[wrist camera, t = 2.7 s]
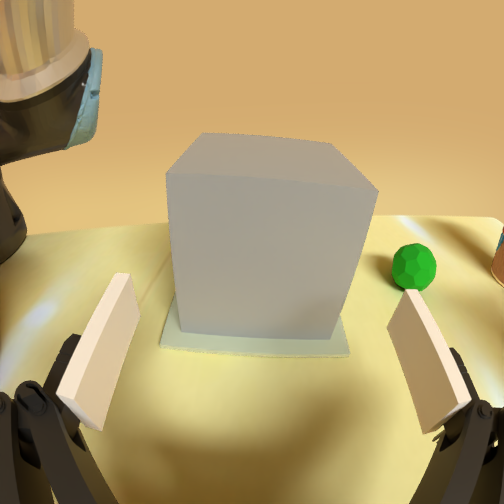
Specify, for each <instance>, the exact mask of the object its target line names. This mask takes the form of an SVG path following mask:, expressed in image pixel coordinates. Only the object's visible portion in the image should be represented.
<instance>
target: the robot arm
mask: <svg viewBox="0 0 504 504" xmlns="http://www.w3.org/2000/svg"><path fill="white" fill-rule="evenodd" d="M102 58H103V54H102V50H100V49H95V48H90V49H89V41H88V38H87V36H86V35H85V33H83V32H81V31H80V30H78V29H75V28H74V0H0V166H2V165H5V164H8V163H11V162H15V161H18V160H22V159H25V158H29V157H33V156H37V155H41V154H45V153H50V152H54V151H59V150H67V149H68V148H69V147H72V146H75V145H79V144H83V143H86V142H88V141H90V140H91V139H92V138H93V136H94V134H95V132H96V127H97V119H98V108H99V92H100V84H101V72H102V60H103V59H102ZM26 233H27V227H26V224H25V220H24V217H23V214H22V212H21V211H20V209H19V207H18V206H17V204H16V203H15V201H14V199H13V198H12V196H11V194H10V193H9V191H8V189H7V188H6V186H5V184H4V181H3V178H2V173H1V167H0V264H1V263H2V262H3V261H5V260H6V259H7V258H8V257H10V256H11V255H12V254H13V253H14V252H15V251H16V250H17V249H18V247H19V246H20V245H21V243H22V242H23V240H24V239H25V237H26ZM140 317H141V315H140V312H139V308H138V304H137V300H136V296H135V292H134V287H133V283H132V278H131V274H126V273H115V275H114V277H113V279H112V280H111V282H110V284H109V286H108V287H107V289H106V291H105V293H104V295H103V296H102V298H101V300H100V302H99V304H98V306H97V307H96V309H95V311H94V313H93V315H92V317H91V319H90V321H89V323H88V325H87V327H86V329H85V331H84V333H83V335H82V336H81V335H77V334H72V335H71V336H70V337H69V338H68V339H67V340H66V341H65V342H64V344H63V346H62V348H61V350H60V353H59V354H58V356H57V358H56V361H55V362H54V364H53V366H52V368H51V370H50V372H49V375H48V377H47V379H46V381H45V383H44V386H43V388H42V387H41V386H40V385H39V384H38V383H37V382H35V381H31V380H29V381H25V382H23V383H21V384H20V385H19V386H18V388H17V389H16V392H15V395H14V399H11V398H10V397H9V396H8V395H7V394H5V393H4V392H0V504H54V500H53V496H52V492H51V488H52V490H53V492H54V495H55V497H56V499H57V501H58V503H59V504H119V503H118V502H117V500H116V499H115V497H114V495H113V494H112V492H111V490H110V489H109V487H108V485H107V483H106V482H105V480H104V478H103V476H102V474H101V472H100V471H99V469H98V467H97V465H96V463H95V461H94V459H93V457H92V455H91V453H90V451H89V448H88V446H87V444H86V442H85V440H84V437H83V435H82V433H81V431H80V429H79V428H78V427H79V424H80V421H81V422H82V423H83V424H84V425H85V426H86V427H89V428H92V429H95V430H99V431H102V430H103V426H104V423H105V419H106V416H107V412H108V409H109V406H110V403H111V399H112V396H113V393H114V390H115V387H116V384H117V381H118V378H119V375H120V372H121V369H122V366H123V363H124V360H125V357H126V354H127V351H128V349H129V346H130V343H131V340H132V338H133V335H134V332H135V330H136V327H137V324H138V322H139V319H140ZM387 330H388V332H389V335H390V337H391V340H392V343H393V345H394V348H395V350H396V353H397V356H398V359H399V361H400V364H401V367H402V370H403V373H404V375H405V378H406V381H407V384H408V387H409V390H410V393H411V396H412V399H413V403H414V406H415V409H416V412H417V416H418V419H419V422H420V426H421V429H422V433H423V434H427V433H430V432H434V431H436V430H438V429H439V428H440V427H441V426H442V425H444V428H445V429H444V430H443V431H442V432H441V433H439V434H438V435H437V436H435V437H434V439H433V440H432V441H433V442H434V441H435V440H437V439H438V438H439V437H440V438H439V441H437V442H436V443H437V446H436V448H435V451H434V453H433V456H432V458H431V460H430V463H429V465H428V467H427V469H426V471H425V474H424V476H423V478H422V480H421V482H420V484H419V486H418V488H417V490H416V492H415V494H414V496H413V497H412V499H411V501H410V503H409V504H504V407H503V408H493V407H492V406H491V405H490V403H488V402H487V401H485V400H480V399H479V397H478V394H477V392H476V390H475V387H474V385H473V383H472V380H471V378H470V376H469V374H468V373H467V369H466V367H465V366H464V363H463V361H462V359H461V357H460V355H459V354H458V353H457V351H456V350H455V349H454V348H449V347H448V345H447V343H446V341H445V339H444V337H443V335H442V333H441V331H440V330H439V328H438V326H437V324H436V322H435V320H434V318H433V316H432V315H431V313H430V311H429V309H428V307H427V305H426V304H425V302H424V300H423V298H422V297H421V295H420V293H419V291H418V290H417V289H405V291H404V293H403V295H402V298H401V300H400V302H399V304H398V306H397V308H396V310H395V312H394V314H393V316H392V318H391V320H390V322H389V324H388V326H387ZM497 440H498V445H497V446H496V447H494V442H495V441H497ZM50 486H51V487H50Z"/></svg>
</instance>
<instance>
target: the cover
mask: <svg viewBox="0 0 504 504" xmlns="http://www.w3.org/2000/svg"><path fill="white" fill-rule="evenodd" d="M166 188H167V204H168V219H169V232H170V243H171V254H172V263H173V273H174V281H175V290H176V297H177V305H178V312H179V319H180V326H181V332H185V333H195V334H206V335H218V336H231V337H247V338H267V339H299V340H330V338H331V336H332V333H333V331H334V328H335V326H336V323H337V321H338V318H339V315H340V313H341V310H342V307H343V305H344V302H345V299H346V297H347V294H348V291H349V288H350V285H351V282H352V279H353V276H354V274H355V271H356V267H357V264H358V261H359V258H360V255H361V252H362V249H363V246H364V242H365V239H366V236H367V232H368V229H369V225H370V222H371V218H372V215H373V211H374V207H375V203H376V199H377V195H378V192H379V191H378V190H377V189H376V188H375V187H374V186H373V185H372V184H371V182H370V181H368V179H367V178H366V177H365V176H364V175H363V174H362V173H361V172H360V171H359V170H358V169H357V168H356V167H355V166H354V165H353V164H352V163H351V162H350V161H349V160H348V159H347V158H345V156H344V155H343V154H341V153H340V151H338V150H337V149H336V148H335V147H334V146H333V145H332V144H330V143H323V142H316V141H308V140H300V139H291V138H282V137H271V136H259V135H258V136H257V135H244V134H225V133H202V134H201V135H200V136H199V137H198V138H197V139H196V140H195V141H194V142H193V143H192V145H191V146H190V147H189V148H188V149H187V150H186V151H185V152H184V153H183V155H182V156H181V157H180V158H179V159H178V160H177V161H176V162H175V163H174V165H173V166H172V167H171V168H170V169H169V170H168V171H167V173H166Z"/></svg>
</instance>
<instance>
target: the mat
mask: <svg viewBox="0 0 504 504" xmlns="http://www.w3.org/2000/svg"><path fill="white" fill-rule="evenodd" d="M159 345H160V348H167V349H175V350H183V351H193V352H203V353H214V354H227V355H242V356H262V357H349V355H350V350H349V346H348V342H347V339H346V335H345V331H344V327H343V324H342V320H341V317H340V315H339V318H338V321H337V323H336V326H335V328H334V331H333V333H332V336H331V338H330V340H299V339H267V338H247V337H231V336H218V335H206V334H195V333H185V332H181V326H180V319H179V312H178V305H177V297H176V291H175V294H174V297H173V300H172V303H171V307H170V310H169V313H168V317H167V320H166V323H165V327H164V330H163V334H162V337H161V340H160V344H159Z"/></svg>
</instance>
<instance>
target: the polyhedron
mask: <svg viewBox="0 0 504 504" xmlns="http://www.w3.org/2000/svg"><path fill="white" fill-rule="evenodd" d="M436 266H437V265H436V260H435V258H434V256H433V254H432V252H431V251H430V250H429V249H428V248H427V247H425V246H423V245H421V244H419V243H415V244H410V245H405V246H403V247H401V248H400V249H399V250H398V251H397V252H396V253H395V254H394V259H393V266H392V276H393V278H394V281H395V283H396V284H397V285H399V286H400V287H402V288H404V289H417V290H418V291H422V290H424V289H425V288H426V287H427V286H428V285H429V284H430V283H431V282H432V281H433V279H434V277H435V273H436Z"/></svg>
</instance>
